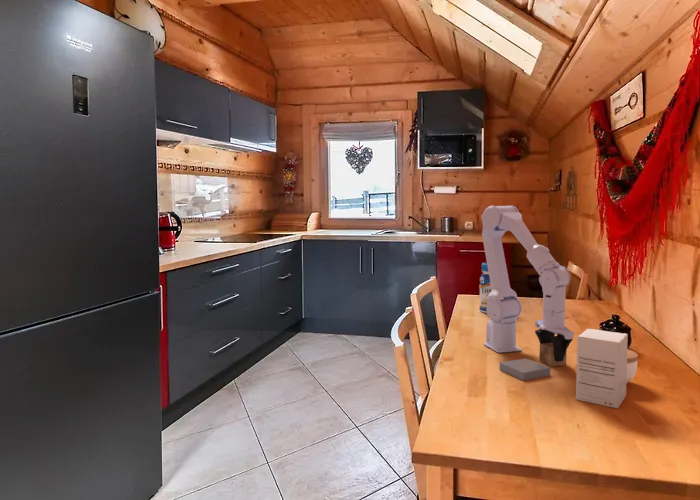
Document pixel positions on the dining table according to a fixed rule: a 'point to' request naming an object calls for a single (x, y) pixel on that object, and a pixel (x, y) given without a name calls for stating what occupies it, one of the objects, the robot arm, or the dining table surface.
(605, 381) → the supplement box
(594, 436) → the dining table surface
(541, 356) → the walnut block
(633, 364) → the lidded jar
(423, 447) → the dining table surface
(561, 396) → the dining table surface
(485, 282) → the beverage bottle
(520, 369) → the plate
